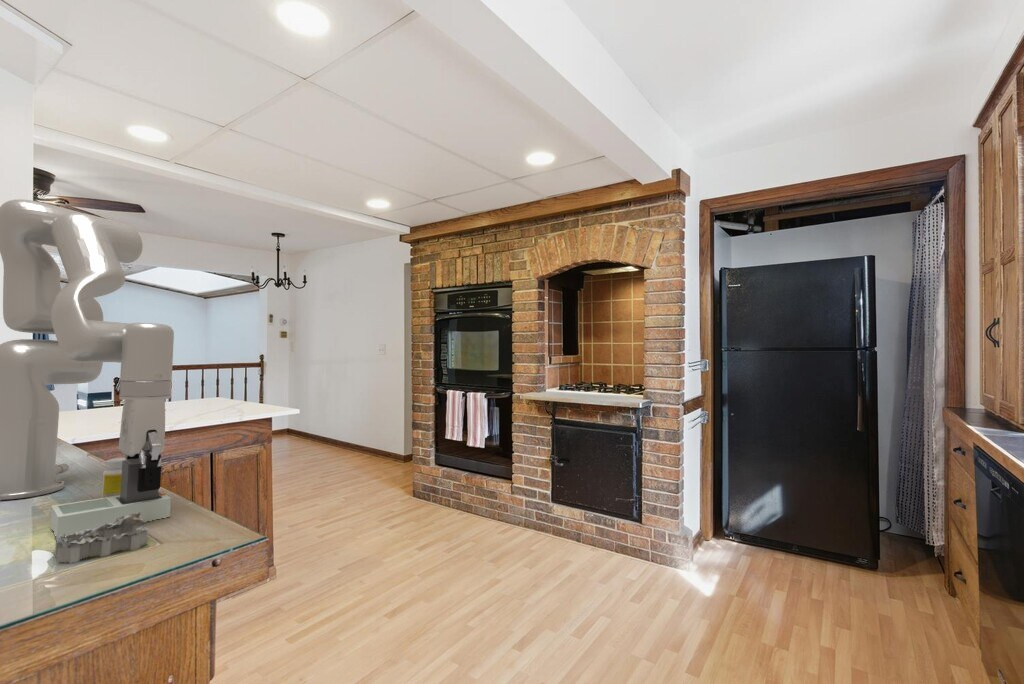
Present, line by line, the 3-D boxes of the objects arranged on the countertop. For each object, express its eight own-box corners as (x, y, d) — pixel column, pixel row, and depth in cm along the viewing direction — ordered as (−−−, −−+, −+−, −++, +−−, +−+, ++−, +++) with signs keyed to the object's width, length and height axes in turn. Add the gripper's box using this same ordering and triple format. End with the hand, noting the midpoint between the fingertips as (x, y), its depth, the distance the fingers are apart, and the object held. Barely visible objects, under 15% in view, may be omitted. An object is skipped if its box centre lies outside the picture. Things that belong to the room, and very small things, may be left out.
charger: (125, 511, 83) (128, 463, 83) (119, 505, 86) (122, 459, 86) (157, 505, 87) (160, 460, 87) (150, 500, 90) (153, 456, 90)
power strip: (56, 539, 75) (58, 515, 75) (49, 526, 80) (51, 503, 81) (169, 517, 87) (171, 496, 87) (157, 507, 92) (158, 487, 92)
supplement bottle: (135, 501, 95) (138, 459, 95) (105, 507, 91) (108, 463, 91) (126, 497, 98) (128, 456, 98) (96, 502, 94) (99, 459, 94)
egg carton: (142, 536, 79) (144, 510, 79) (149, 550, 73) (151, 522, 73) (52, 552, 71) (55, 524, 71) (53, 568, 66) (55, 538, 66)
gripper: (109, 389, 90) (104, 480, 89) (132, 394, 79) (126, 499, 78) (157, 387, 96) (153, 474, 95) (185, 392, 84) (180, 490, 84)
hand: (141, 485), depth 86 cm, fingers open, 9 cm apart
